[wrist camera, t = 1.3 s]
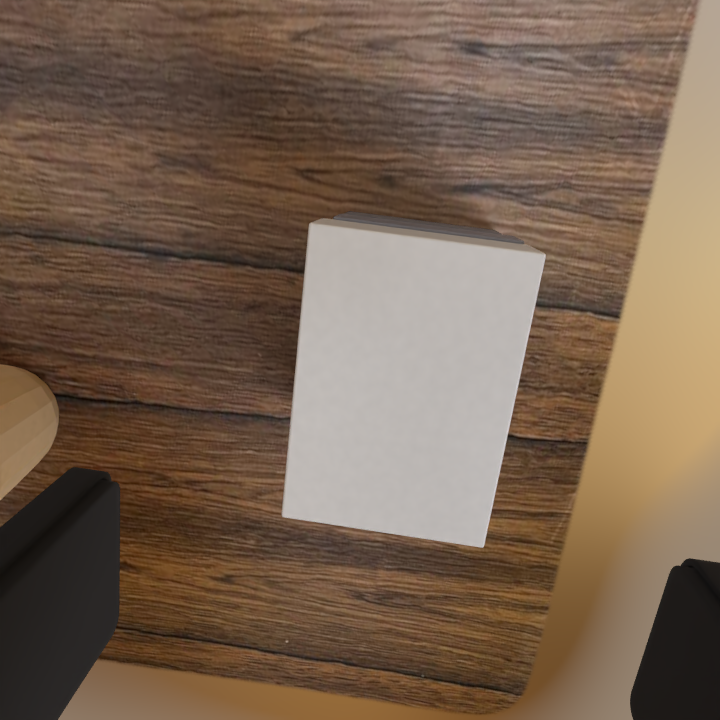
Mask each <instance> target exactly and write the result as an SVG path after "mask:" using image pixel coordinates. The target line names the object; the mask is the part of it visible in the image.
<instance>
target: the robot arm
mask: <svg viewBox="0 0 720 720" xmlns="http://www.w3.org/2000/svg"><path fill="white" fill-rule="evenodd" d="M119 571H120V487H119V484H118V483H117V482H112V481H111V477H110V474H109V473H108V472H104V471H97V470H90V469H83V468H76V467H73V468H71V469H69V470H68V471H67V472H66V473H64V474H63V475H62V476H61V477H60V478H59V479H57V480H56V481H55V482H54V483H53V484H51V485H50V486H49V487H48V488H47V489H45V490H44V491H43V492H42V493H41V494H40V495H38V496H37V497H36V498H35V499H34V500H32V501H31V502H30V503H29V504H28V505H26V506H25V507H24V508H23V509H22V510H21V511H19V512H18V513H17V514H16V515H15V516H13V517H12V518H11V519H10V520H9V521H7V522H6V523H5V524H4V525H3V526H2V527H0V720H58V718H59V717H60V715H61V714H62V712H63V711H64V709H65V708H66V706H67V705H68V703H69V701H70V700H71V698H72V697H73V695H74V694H75V692H76V691H77V689H78V688H79V686H80V684H81V683H82V681H83V680H84V678H85V677H86V675H87V674H88V672H89V671H90V669H91V668H92V666H93V665H94V663H95V662H96V660H97V658H98V657H99V655H100V654H101V652H102V651H103V649H104V648H105V646H106V645H107V643H108V642H109V640H110V638H111V637H112V635H113V633H114V631H115V628H116V625H117V622H118V617H119ZM630 706H631V713H632V717H633V720H720V563H717V562H710V561H704V560H696V559H686V560H685V561H684V562H683V563H682V564H681V566H675V567H673V568H672V570H671V572H670V574H669V577H668V580H667V583H666V586H665V589H664V593H663V595H662V599H661V602H660V605H659V608H658V611H657V614H656V617H655V620H654V623H653V627H652V630H651V633H650V636H649V639H648V642H647V645H646V649H645V652H644V655H643V658H642V661H641V664H640V667H639V670H638V674H637V676H636V679H635V682H634V686H633V689H632V692H631V698H630Z"/></svg>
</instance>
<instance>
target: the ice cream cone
mask: <svg viewBox="0 0 720 720" xmlns="http://www.w3.org/2000/svg"><path fill="white" fill-rule="evenodd" d="M58 424H59V408H58V405H57V401H56V398H55V396H54V394H53V393H52V391H51V390H50V388H49V387H48V385H47V384H46V383H45V382H43V381H42V380H41V379H40V378H39V377H38V376H36V375H35V374H33V373H31V372H29V371H27V370H24V369H22V368H18V367H14V366H9V365H2V364H0V500H1V499H2V498H3V497H4V496H5V495H6V494H7V493H8V492H9V491H10V490H11V489H12V488H13V487H14V486H15V485H16V484H18V483H19V482H20V481H21V480H22V479H23V478H24V477H25V476H26V475H27V474H28V473H29V472H30V471H31V470H32V469H33V468H34V467H35V466H36V465H37V464H38V463H39V462H40V460H41V459H42V458H43V457H44V456H45V455H46V453H47V452H48V451H49V450H50V448H51V446H52V443H53V441H54V439H55V436H56V433H57V428H58Z"/></svg>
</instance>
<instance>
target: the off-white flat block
mask: <svg viewBox="0 0 720 720" xmlns="http://www.w3.org/2000/svg"><path fill="white" fill-rule="evenodd" d="M545 257H546V255H545V254H544V253H543V252H541V251H539V250H537V249H535V248H533V247H531V246H529V245H525V244H517V243H509V242H502V241H494V240H486V239H479V238H471V237H463V236H456V235H448V234H441V233H433V232H425V231H418V230H410V229H402V228H395V227H387V226H379V225H372V224H364V223H357V222H349V221H341V220H334V219H326V218H322V219H319V220H317V221H314V222H311V223H310V224H309V229H308V240H307V251H306V261H305V272H304V282H303V293H302V304H301V314H300V325H299V335H298V346H297V357H296V367H295V378H294V388H293V399H292V410H291V420H290V431H289V441H288V452H287V463H286V473H285V484H284V495H283V505H282V517H286V518H293V519H299V520H306V521H312V522H319V523H325V524H332V525H338V526H345V527H351V528H358V529H364V530H371V531H377V532H384V533H390V534H397V535H403V536H410V537H416V538H423V539H429V540H436V541H442V542H449V543H455V544H462V545H468V546H475V547H481V548H482V547H484V544H485V539H486V534H487V530H488V525H489V520H490V516H491V511H492V506H493V502H494V497H495V492H496V487H497V483H498V478H499V473H500V469H501V464H502V459H503V455H504V450H505V445H506V440H507V436H508V431H509V426H510V422H511V417H512V412H513V408H514V403H515V398H516V393H517V389H518V384H519V379H520V375H521V370H522V365H523V361H524V356H525V351H526V346H527V342H528V337H529V332H530V328H531V323H532V318H533V314H534V309H535V304H536V299H537V295H538V290H539V285H540V281H541V276H542V271H543V267H544V262H545Z"/></svg>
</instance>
